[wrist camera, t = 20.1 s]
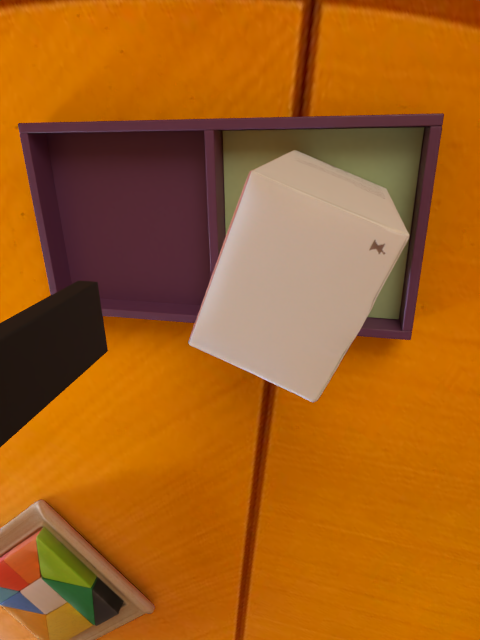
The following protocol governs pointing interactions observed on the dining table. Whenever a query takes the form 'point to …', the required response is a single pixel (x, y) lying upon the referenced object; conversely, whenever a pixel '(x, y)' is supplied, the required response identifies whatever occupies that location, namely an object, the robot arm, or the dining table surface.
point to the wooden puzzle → (61, 580)
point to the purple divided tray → (207, 200)
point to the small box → (298, 272)
